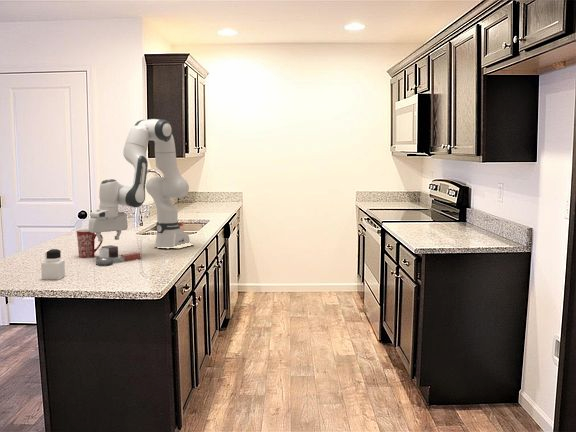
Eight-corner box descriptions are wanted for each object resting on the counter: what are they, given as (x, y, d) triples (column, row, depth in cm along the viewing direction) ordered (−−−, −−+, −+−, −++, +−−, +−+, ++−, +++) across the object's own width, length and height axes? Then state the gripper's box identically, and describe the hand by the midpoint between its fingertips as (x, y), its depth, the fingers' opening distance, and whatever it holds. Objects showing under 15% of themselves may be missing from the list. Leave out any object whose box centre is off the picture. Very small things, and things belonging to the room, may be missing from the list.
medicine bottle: (65, 276, 239) (64, 248, 237) (58, 279, 231) (58, 251, 230) (48, 275, 238) (47, 248, 237) (41, 279, 231) (40, 251, 230)
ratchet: (133, 257, 281) (133, 242, 280) (143, 259, 276) (143, 244, 275) (92, 264, 263) (92, 248, 262) (102, 266, 258) (101, 250, 257)
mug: (74, 258, 276) (73, 231, 274) (80, 254, 285) (79, 228, 283) (100, 258, 276) (99, 231, 275) (105, 255, 285) (104, 229, 284)
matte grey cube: (111, 256, 281) (111, 245, 280) (118, 258, 278) (118, 246, 277) (101, 258, 277) (101, 246, 276) (108, 260, 273) (108, 248, 273)
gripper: (122, 211, 284) (122, 237, 286) (86, 213, 268) (86, 241, 270) (130, 212, 281) (130, 239, 282) (94, 214, 264) (94, 243, 266)
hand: (108, 240), depth 276 cm, fingers open, 8 cm apart
